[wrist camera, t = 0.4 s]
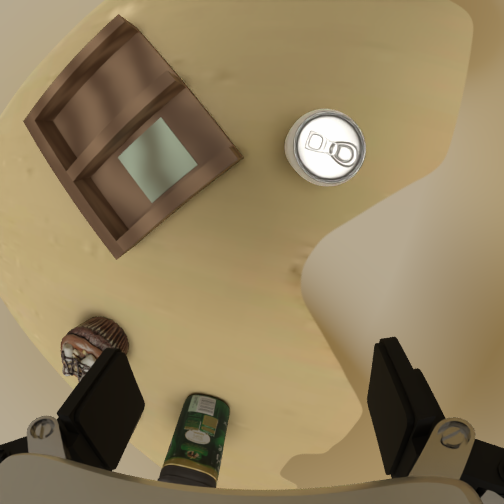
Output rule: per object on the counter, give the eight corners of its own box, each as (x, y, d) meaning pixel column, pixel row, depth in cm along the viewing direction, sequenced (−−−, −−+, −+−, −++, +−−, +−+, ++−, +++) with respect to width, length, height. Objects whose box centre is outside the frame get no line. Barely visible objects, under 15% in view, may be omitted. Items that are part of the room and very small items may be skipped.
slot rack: (135, 26, 30) (118, 14, 25) (243, 157, 34) (238, 159, 30) (46, 121, 34) (23, 121, 29) (133, 246, 39) (116, 259, 34)
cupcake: (86, 352, 46) (56, 388, 37) (78, 304, 43) (42, 337, 34) (135, 368, 46) (111, 409, 36) (132, 318, 43) (101, 358, 33)
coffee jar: (223, 433, 49) (206, 520, 32) (180, 421, 49) (152, 505, 32) (235, 399, 46) (217, 498, 28) (187, 386, 46) (153, 480, 28)
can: (329, 184, 35) (354, 201, 23) (276, 164, 34) (275, 171, 23) (348, 132, 33) (382, 125, 21) (295, 111, 32) (303, 93, 21)
